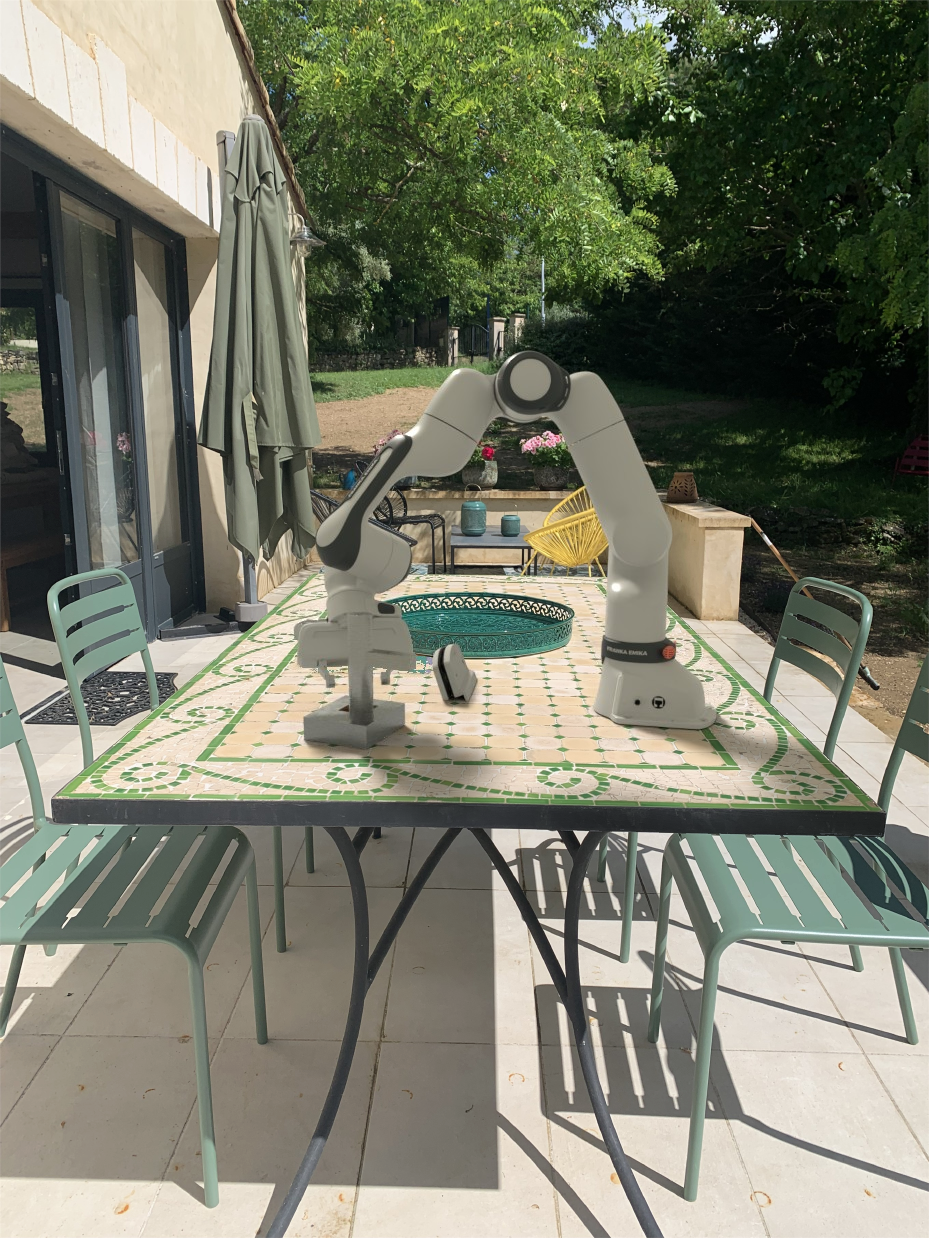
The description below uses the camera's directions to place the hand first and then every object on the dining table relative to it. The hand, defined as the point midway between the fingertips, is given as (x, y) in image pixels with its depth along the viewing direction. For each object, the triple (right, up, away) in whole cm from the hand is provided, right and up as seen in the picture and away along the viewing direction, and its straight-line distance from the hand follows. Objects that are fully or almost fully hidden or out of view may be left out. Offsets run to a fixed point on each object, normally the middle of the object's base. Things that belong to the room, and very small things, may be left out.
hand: (358, 684), depth 155 cm
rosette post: (+3, -9, 0) cm, 9 cm away
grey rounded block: (+16, -3, +28) cm, 33 cm away
